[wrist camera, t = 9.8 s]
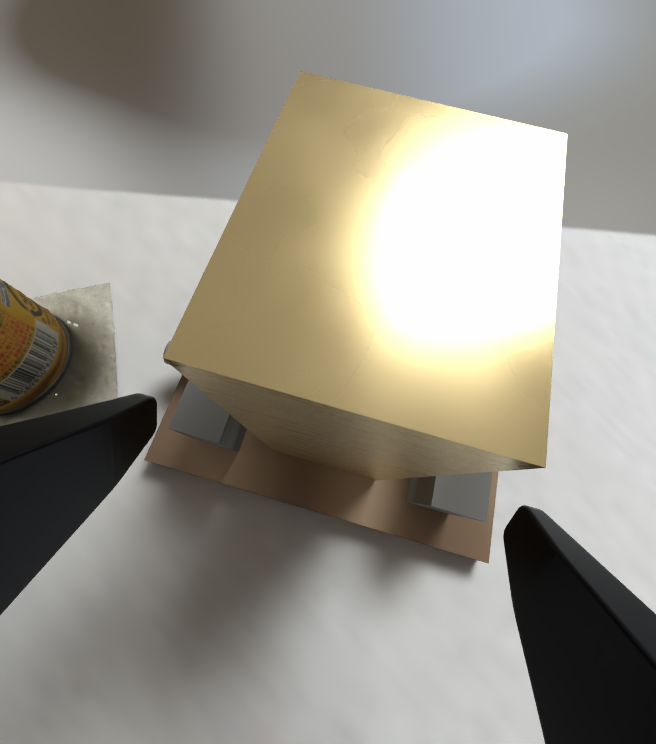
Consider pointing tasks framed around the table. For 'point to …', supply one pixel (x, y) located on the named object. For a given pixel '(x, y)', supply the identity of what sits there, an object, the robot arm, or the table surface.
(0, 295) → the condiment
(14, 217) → the table surface
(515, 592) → the robot arm
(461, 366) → the brass block
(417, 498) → the vise
